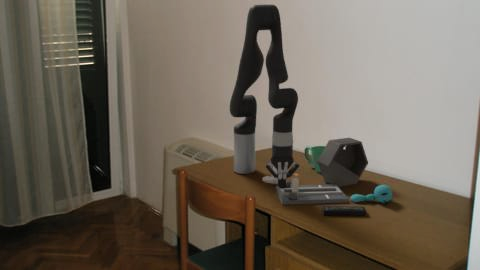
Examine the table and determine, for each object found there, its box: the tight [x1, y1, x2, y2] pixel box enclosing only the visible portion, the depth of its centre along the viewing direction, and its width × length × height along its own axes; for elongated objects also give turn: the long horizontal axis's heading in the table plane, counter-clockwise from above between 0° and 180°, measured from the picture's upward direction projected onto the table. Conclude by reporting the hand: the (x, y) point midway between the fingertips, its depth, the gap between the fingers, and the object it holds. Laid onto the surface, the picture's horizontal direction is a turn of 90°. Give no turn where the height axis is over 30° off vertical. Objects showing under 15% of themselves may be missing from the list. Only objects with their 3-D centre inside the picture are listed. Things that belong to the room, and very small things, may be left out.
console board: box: [275, 180, 349, 206], centre depth 188 cm, size 16×24×4 cm, turn 95°
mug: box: [304, 145, 326, 174], centre depth 219 cm, size 15×10×10 cm
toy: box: [349, 184, 393, 204], centre depth 182 cm, size 12×6×15 cm
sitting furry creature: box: [262, 165, 282, 185], centre depth 203 cm, size 10×9×12 cm
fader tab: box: [291, 172, 300, 192], centre depth 187 cm, size 3×2×6 cm
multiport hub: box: [321, 205, 368, 217], centre depth 171 cm, size 4×14×2 cm, turn 89°
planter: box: [317, 137, 369, 188], centre depth 201 cm, size 17×8×21 cm
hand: (281, 187), depth 187 cm, fingers closed
